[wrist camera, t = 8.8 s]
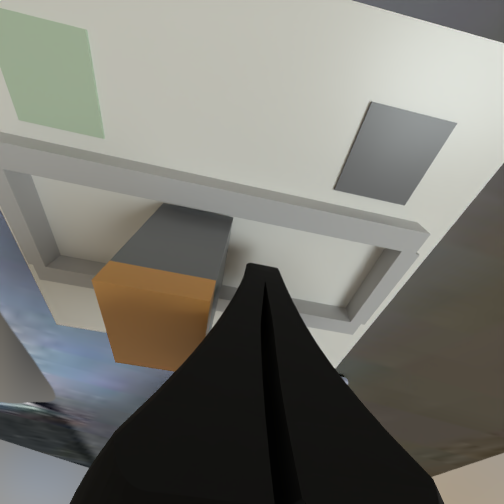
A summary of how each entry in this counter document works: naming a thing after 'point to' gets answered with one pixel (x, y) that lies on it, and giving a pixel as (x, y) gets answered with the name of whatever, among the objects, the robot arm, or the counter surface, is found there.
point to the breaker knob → (164, 287)
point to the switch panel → (244, 142)
